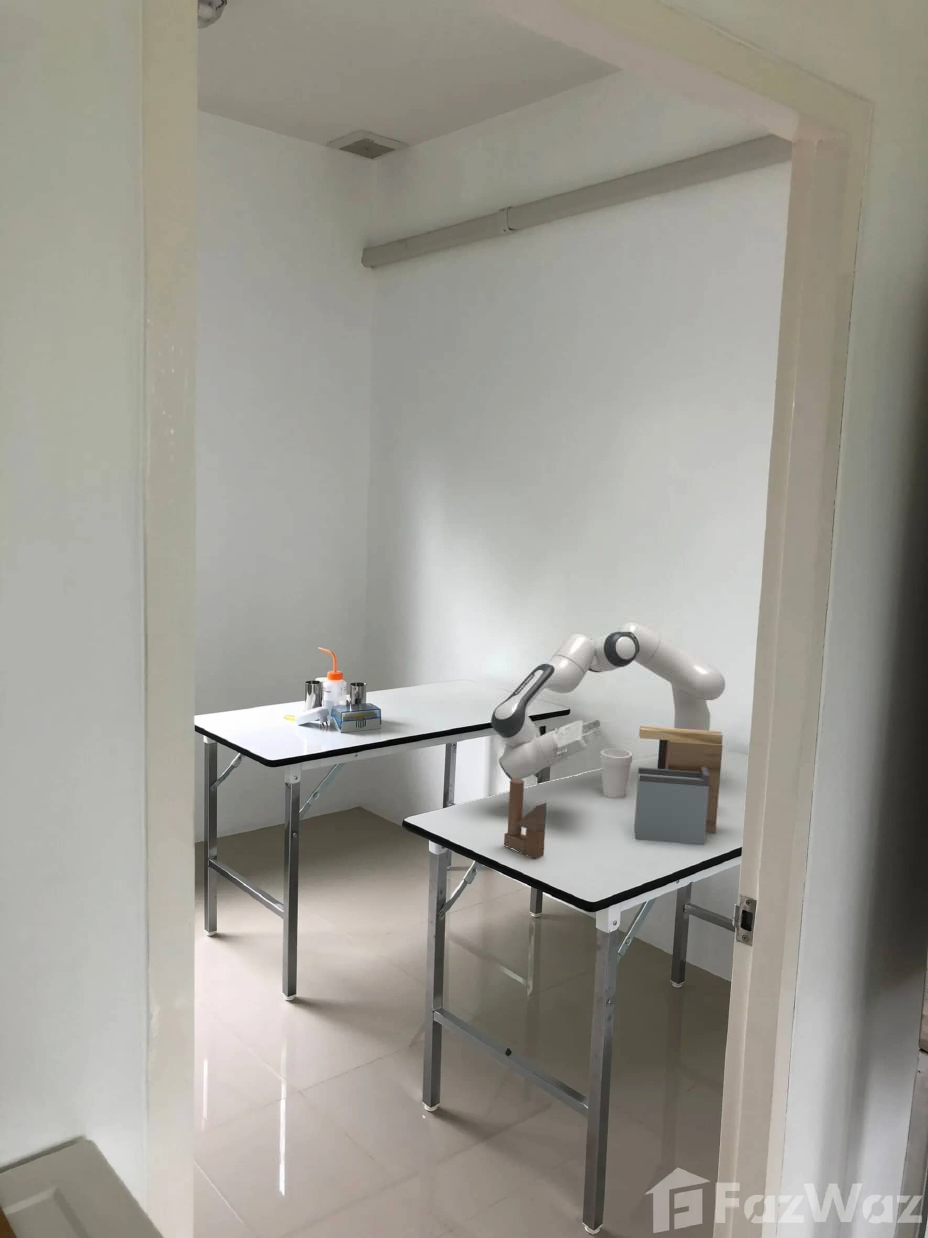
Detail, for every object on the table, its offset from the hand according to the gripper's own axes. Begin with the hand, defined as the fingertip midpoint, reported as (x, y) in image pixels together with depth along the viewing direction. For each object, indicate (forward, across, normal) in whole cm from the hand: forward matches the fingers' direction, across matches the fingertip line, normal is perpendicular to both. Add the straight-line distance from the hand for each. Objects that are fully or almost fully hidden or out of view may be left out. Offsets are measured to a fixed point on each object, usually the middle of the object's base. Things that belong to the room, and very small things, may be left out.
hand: (599, 726), depth 264 cm
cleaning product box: (+9, +20, +37) cm, 43 cm away
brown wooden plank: (+9, +1, +37) cm, 38 cm away
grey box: (+4, -7, +34) cm, 35 cm away
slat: (+18, +1, +13) cm, 22 cm away
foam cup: (-8, +24, +27) cm, 37 cm away
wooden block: (-29, -26, +15) cm, 42 cm away
